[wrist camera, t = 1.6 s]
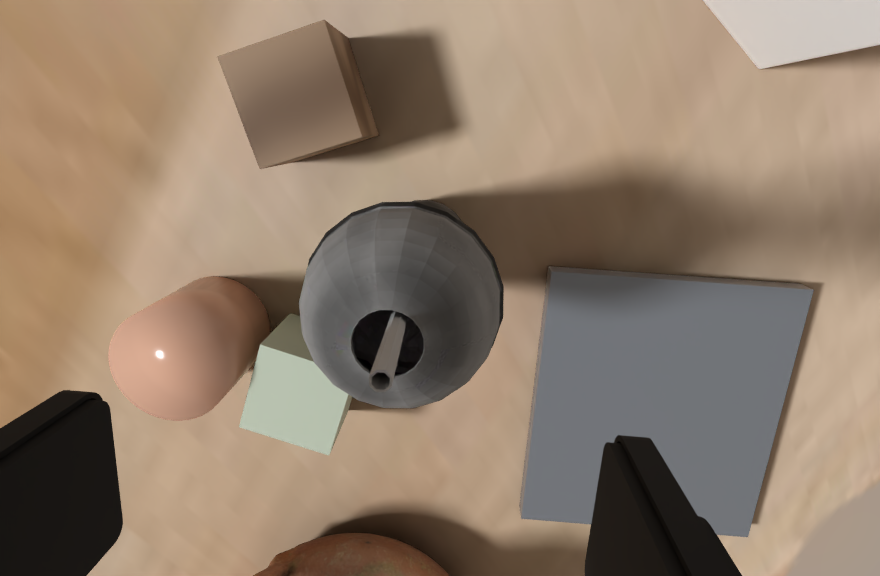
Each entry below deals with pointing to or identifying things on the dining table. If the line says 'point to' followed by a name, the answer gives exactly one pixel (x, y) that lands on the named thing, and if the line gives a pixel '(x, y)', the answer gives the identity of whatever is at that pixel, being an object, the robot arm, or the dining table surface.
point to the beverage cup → (401, 304)
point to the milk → (798, 27)
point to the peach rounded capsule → (188, 348)
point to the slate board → (660, 386)
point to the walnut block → (299, 94)
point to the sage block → (293, 393)
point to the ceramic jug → (353, 558)
